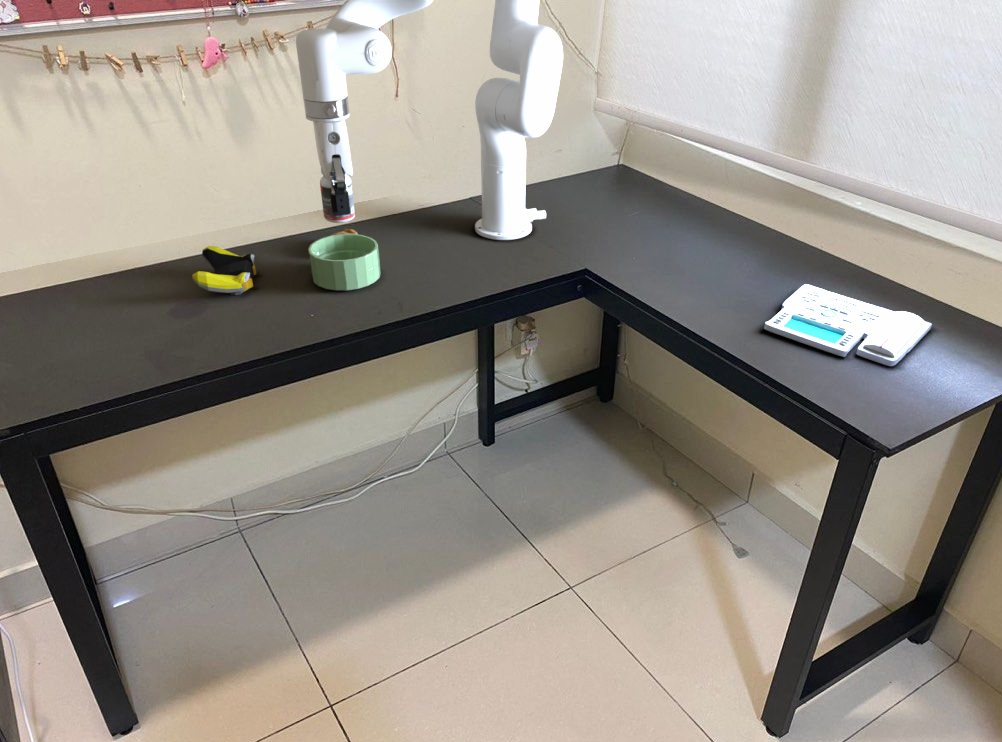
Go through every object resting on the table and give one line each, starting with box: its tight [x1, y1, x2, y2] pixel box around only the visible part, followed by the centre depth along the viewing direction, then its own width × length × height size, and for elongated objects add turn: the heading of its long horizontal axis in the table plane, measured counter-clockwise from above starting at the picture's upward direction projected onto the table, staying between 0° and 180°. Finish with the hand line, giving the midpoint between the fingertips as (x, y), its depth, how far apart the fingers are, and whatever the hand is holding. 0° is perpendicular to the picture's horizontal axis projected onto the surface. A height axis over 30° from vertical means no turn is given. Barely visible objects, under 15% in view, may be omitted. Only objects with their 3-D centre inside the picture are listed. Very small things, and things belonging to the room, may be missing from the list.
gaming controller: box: [191, 245, 257, 296], centre depth 152 cm, size 15×6×10 cm
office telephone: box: [763, 283, 933, 367], centre depth 139 cm, size 23×3×20 cm
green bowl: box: [307, 233, 381, 291], centre depth 154 cm, size 13×13×6 cm
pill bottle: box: [319, 162, 356, 224], centre depth 146 cm, size 6×6×10 cm
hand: (338, 207), depth 148 cm, fingers closed on pill bottle, 5 cm apart
